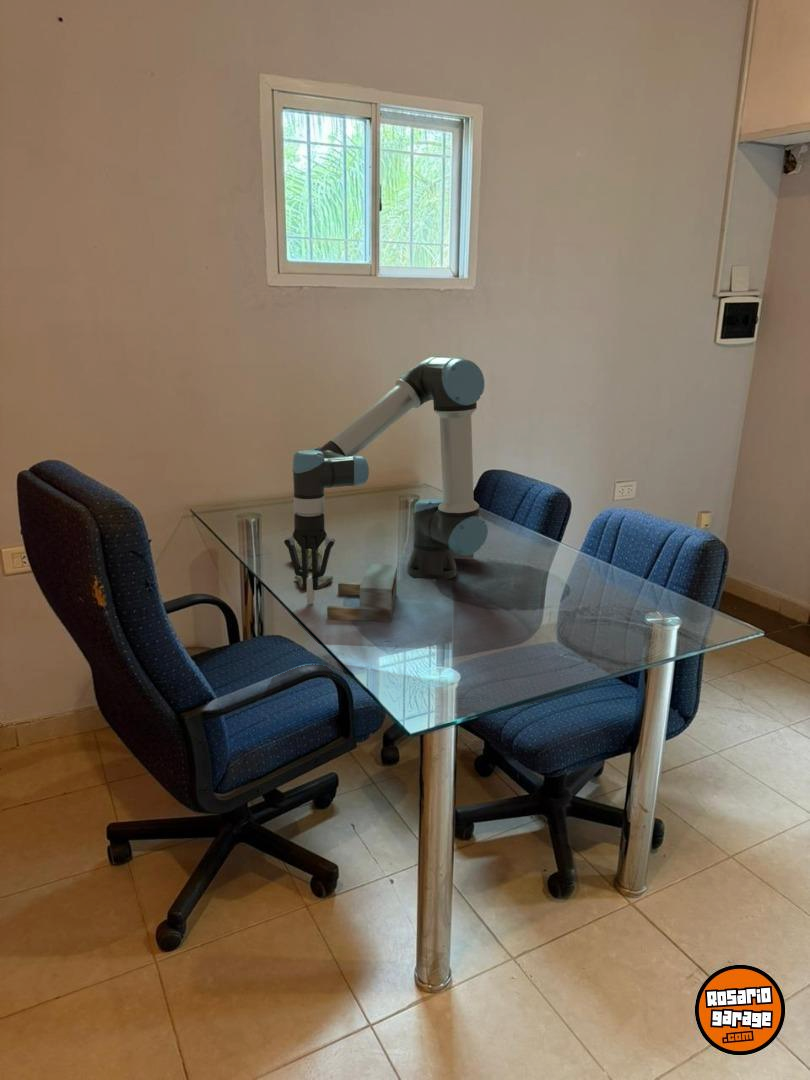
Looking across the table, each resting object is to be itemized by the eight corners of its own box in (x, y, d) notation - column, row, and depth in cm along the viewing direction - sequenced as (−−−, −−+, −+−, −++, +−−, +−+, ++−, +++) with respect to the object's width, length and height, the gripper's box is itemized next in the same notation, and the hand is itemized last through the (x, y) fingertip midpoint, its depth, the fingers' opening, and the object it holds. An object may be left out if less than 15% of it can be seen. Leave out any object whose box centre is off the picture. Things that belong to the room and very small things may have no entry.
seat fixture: (396, 595, 202) (397, 565, 200) (390, 621, 184) (391, 589, 181) (338, 592, 203) (338, 562, 201) (327, 619, 184) (327, 586, 182)
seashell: (320, 569, 218) (309, 536, 217) (291, 578, 221) (279, 546, 220) (331, 562, 228) (320, 531, 227) (303, 571, 230) (292, 540, 230)
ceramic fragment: (295, 584, 202) (294, 568, 212) (295, 594, 204) (294, 578, 213) (335, 585, 204) (332, 569, 214) (334, 595, 206) (332, 579, 215)
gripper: (337, 510, 191) (337, 597, 197) (286, 508, 192) (289, 595, 198) (332, 517, 184) (333, 607, 190) (280, 515, 184) (282, 605, 191)
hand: (310, 601), depth 194 cm, fingers closed
